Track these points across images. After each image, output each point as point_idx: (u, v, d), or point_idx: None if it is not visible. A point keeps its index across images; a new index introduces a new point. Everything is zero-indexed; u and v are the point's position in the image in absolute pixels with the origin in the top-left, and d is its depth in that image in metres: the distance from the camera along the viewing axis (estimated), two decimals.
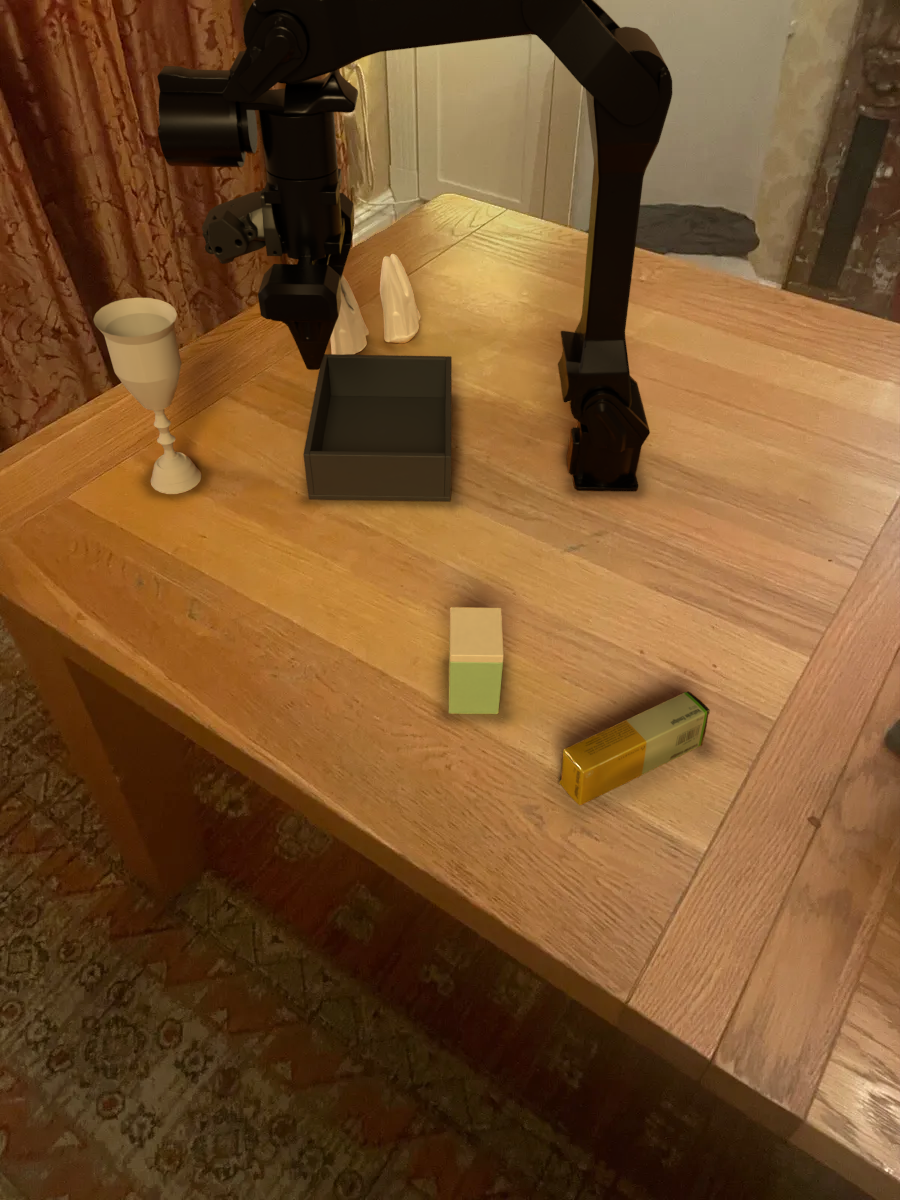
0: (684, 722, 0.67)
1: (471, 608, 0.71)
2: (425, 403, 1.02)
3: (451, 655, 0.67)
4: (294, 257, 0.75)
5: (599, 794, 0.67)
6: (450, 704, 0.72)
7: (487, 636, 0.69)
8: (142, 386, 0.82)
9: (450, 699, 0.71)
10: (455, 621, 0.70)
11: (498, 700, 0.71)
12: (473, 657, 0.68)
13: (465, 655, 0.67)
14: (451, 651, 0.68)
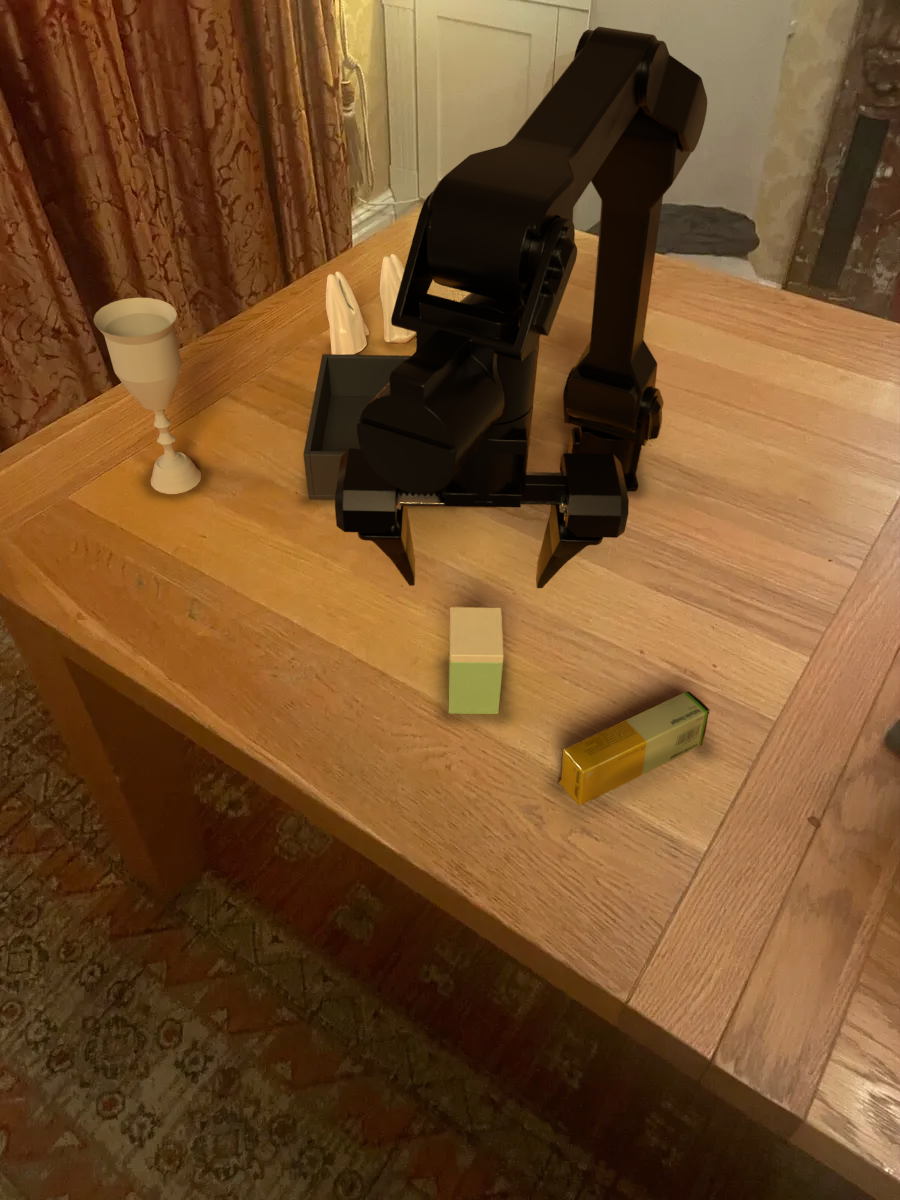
0: (684, 722, 0.67)
1: (471, 608, 0.71)
2: None
3: (451, 655, 0.67)
4: None
5: (599, 794, 0.67)
6: (450, 704, 0.72)
7: (487, 636, 0.69)
8: (142, 386, 0.82)
9: (450, 699, 0.71)
10: (455, 621, 0.70)
11: (498, 700, 0.71)
12: (473, 657, 0.68)
13: (465, 655, 0.67)
14: (451, 651, 0.68)
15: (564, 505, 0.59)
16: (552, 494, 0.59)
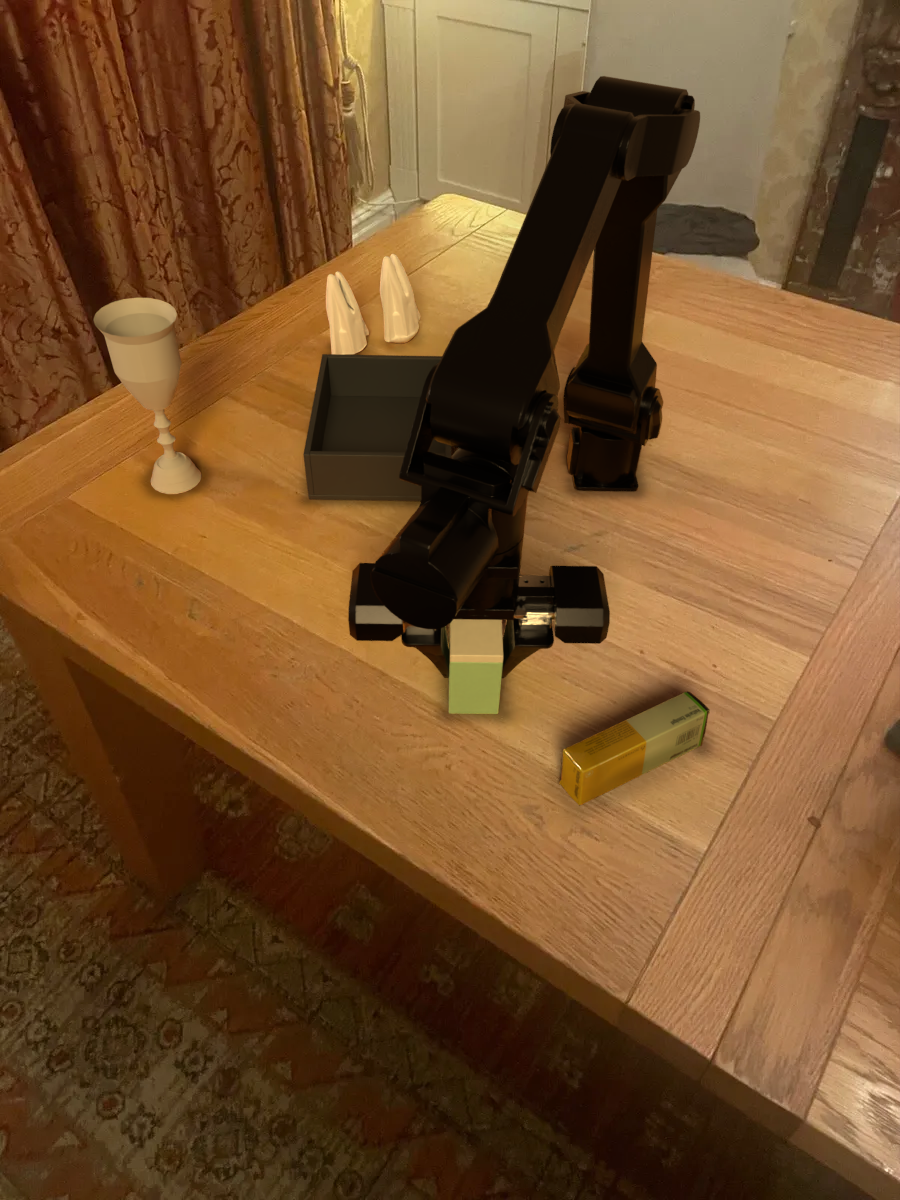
0: (684, 721, 0.67)
1: None
2: None
3: (451, 655, 0.67)
4: None
5: (599, 794, 0.67)
6: (450, 704, 0.72)
7: (487, 636, 0.69)
8: (142, 386, 0.82)
9: (450, 699, 0.71)
10: (455, 621, 0.70)
11: (498, 700, 0.71)
12: (473, 657, 0.68)
13: (465, 655, 0.67)
14: (451, 651, 0.68)
15: None
16: (541, 604, 0.66)
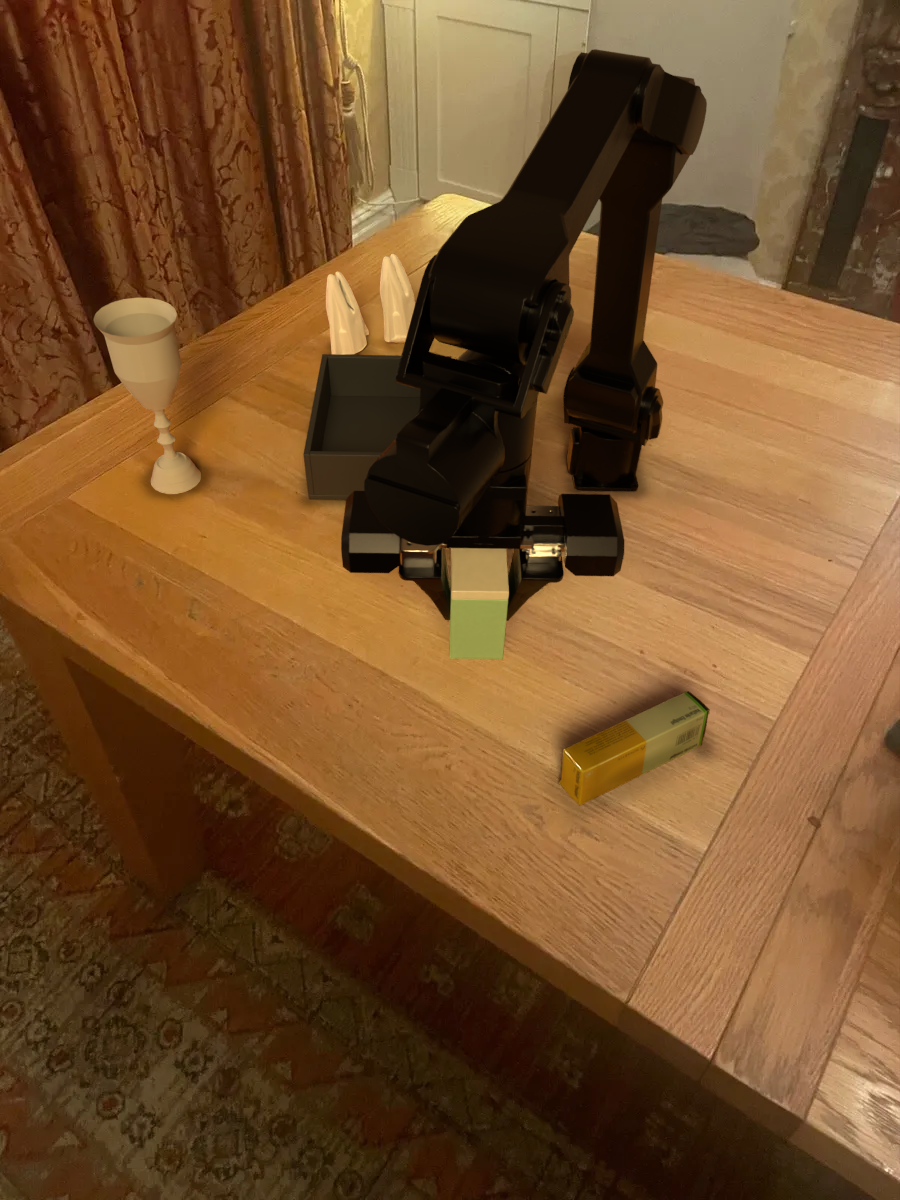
0: (684, 721, 0.67)
1: None
2: None
3: (452, 591, 0.62)
4: None
5: (599, 794, 0.67)
6: (451, 648, 0.67)
7: (491, 572, 0.64)
8: (142, 386, 0.82)
9: (451, 642, 0.66)
10: (456, 557, 0.65)
11: (503, 643, 0.66)
12: (476, 593, 0.63)
13: (468, 591, 0.62)
14: (452, 587, 0.63)
15: None
16: (550, 534, 0.61)
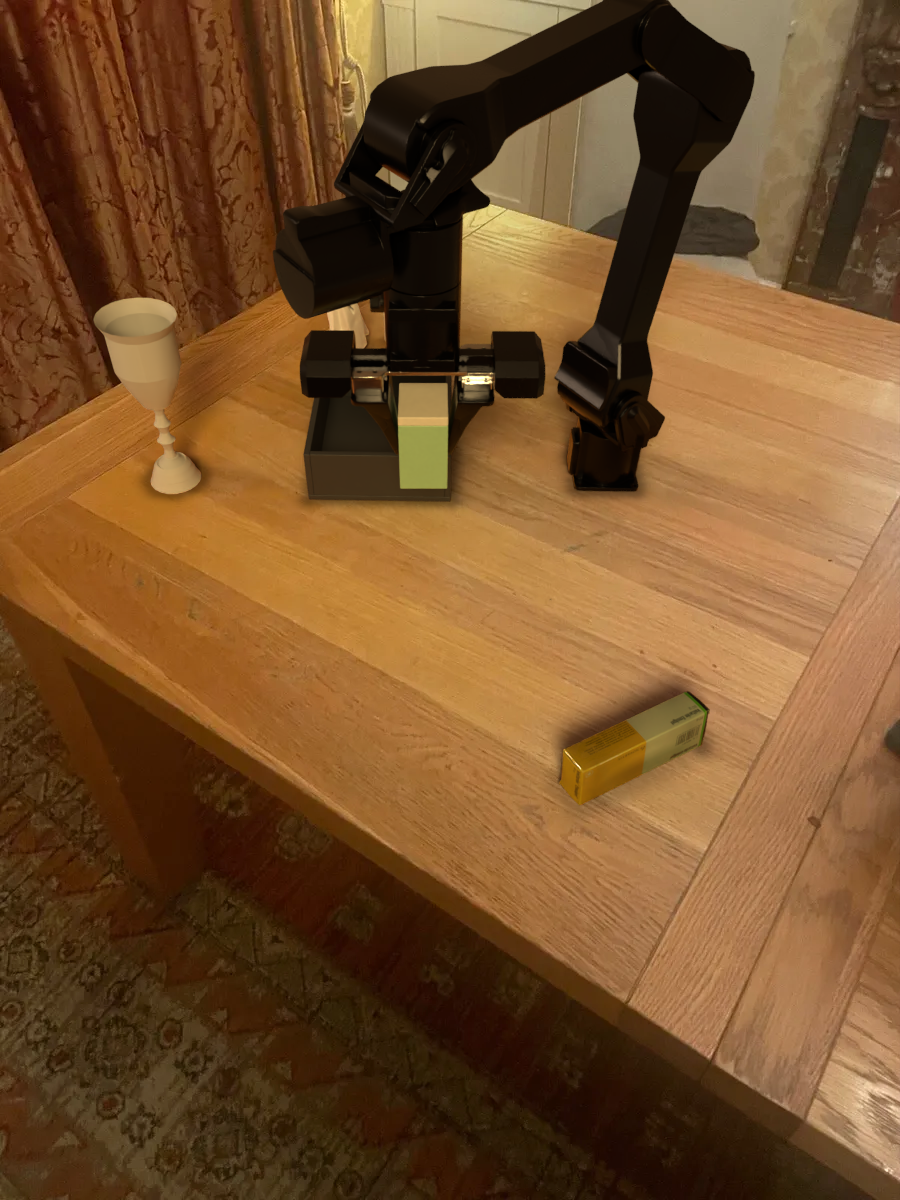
0: (684, 721, 0.67)
1: (419, 383, 0.75)
2: None
3: (399, 417, 0.72)
4: None
5: (599, 794, 0.67)
6: (401, 477, 0.76)
7: (433, 403, 0.73)
8: (142, 386, 0.82)
9: (401, 471, 0.75)
10: (403, 393, 0.74)
11: (446, 471, 0.75)
12: (419, 420, 0.72)
13: (412, 417, 0.72)
14: (399, 414, 0.72)
15: None
16: (482, 364, 0.70)
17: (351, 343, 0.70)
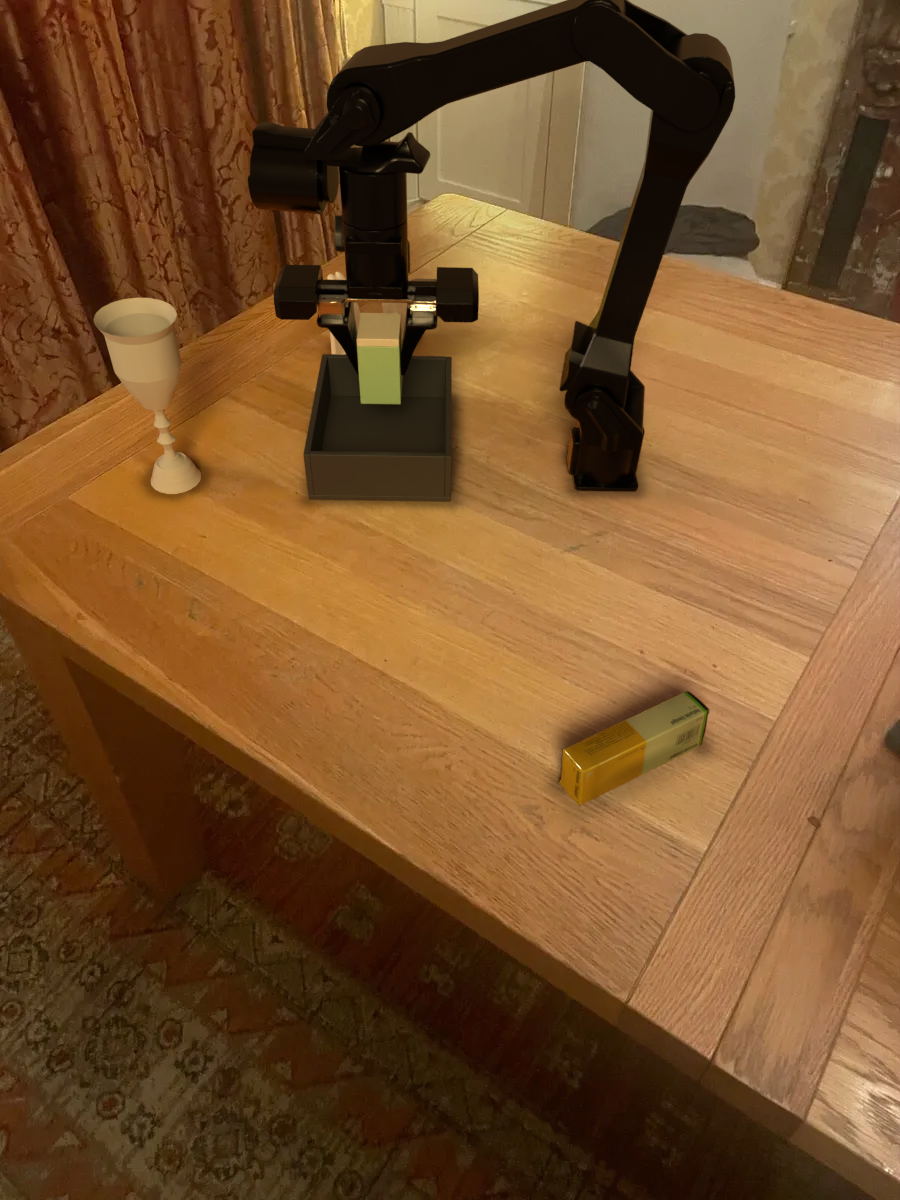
0: (684, 721, 0.67)
1: (377, 313, 0.89)
2: (425, 403, 1.02)
3: (357, 339, 0.85)
4: None
5: (599, 794, 0.67)
6: (361, 393, 0.89)
7: (387, 328, 0.86)
8: (142, 386, 0.82)
9: (360, 387, 0.89)
10: (363, 320, 0.88)
11: (399, 388, 0.89)
12: (375, 341, 0.85)
13: (368, 338, 0.85)
14: (357, 336, 0.85)
15: None
16: (427, 294, 0.84)
17: (317, 275, 0.84)
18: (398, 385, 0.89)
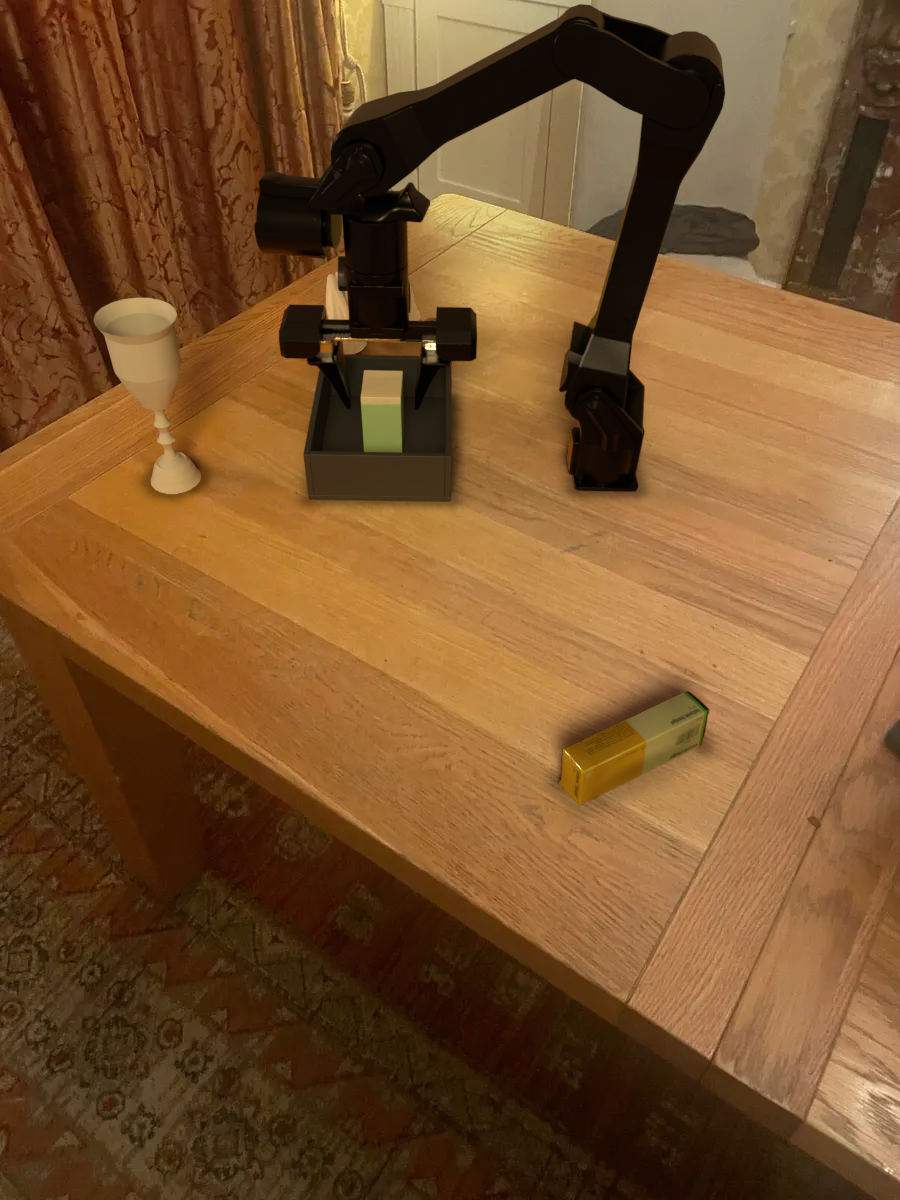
0: (684, 721, 0.67)
1: (380, 371, 0.93)
2: (425, 403, 1.02)
3: (361, 397, 0.90)
4: None
5: (599, 794, 0.67)
6: (364, 446, 0.94)
7: (390, 386, 0.91)
8: (142, 386, 0.82)
9: (364, 441, 0.94)
10: (366, 378, 0.92)
11: (401, 442, 0.94)
12: (378, 399, 0.90)
13: (372, 397, 0.90)
14: (361, 395, 0.90)
15: (424, 341, 0.87)
16: (427, 333, 0.87)
17: (321, 315, 0.86)
18: (400, 439, 0.93)
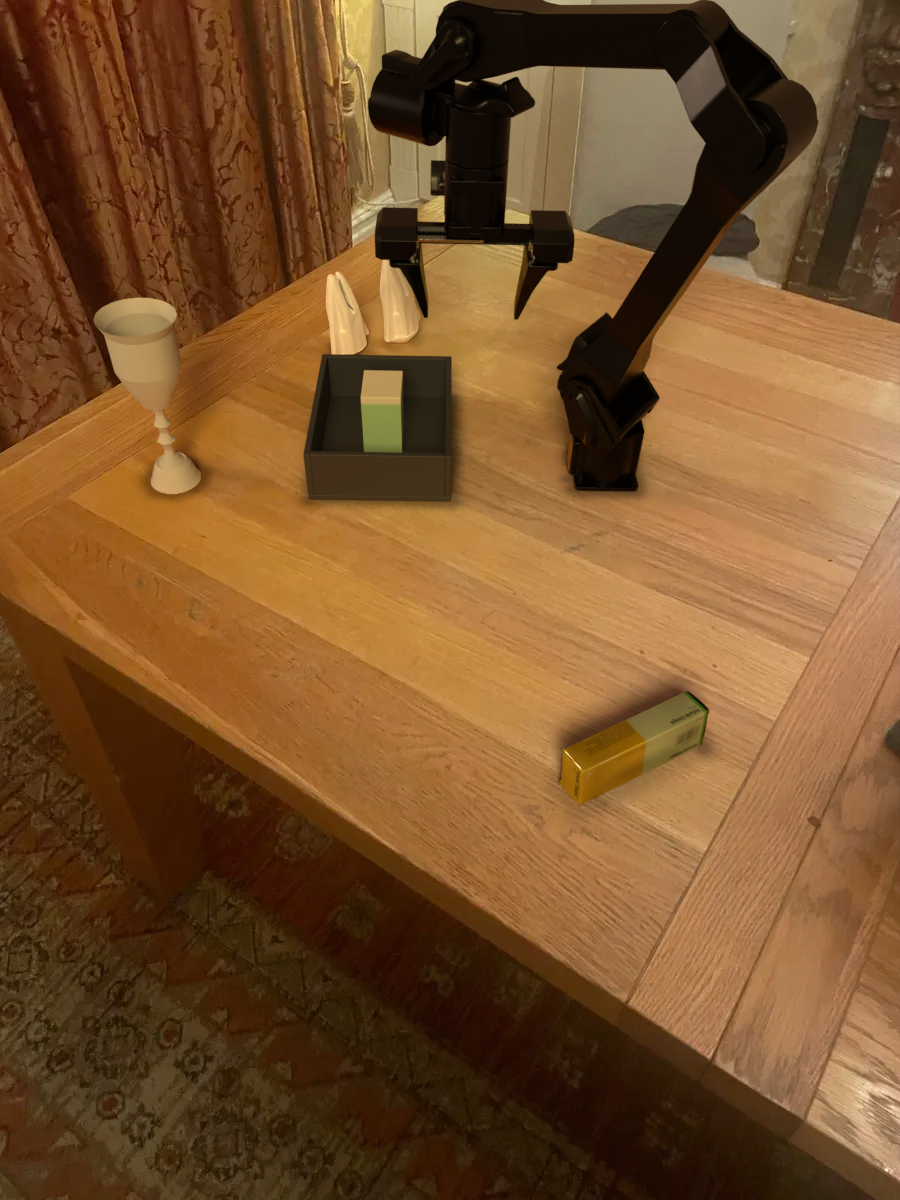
0: (684, 721, 0.67)
1: (380, 371, 0.93)
2: (425, 403, 1.02)
3: (361, 397, 0.90)
4: None
5: (599, 794, 0.67)
6: (364, 446, 0.94)
7: (390, 386, 0.91)
8: (142, 386, 0.82)
9: (364, 441, 0.94)
10: (366, 378, 0.92)
11: (401, 442, 0.94)
12: (378, 399, 0.90)
13: (372, 397, 0.90)
14: (361, 395, 0.90)
15: (531, 244, 0.86)
16: (522, 236, 0.86)
17: (416, 216, 0.86)
18: (400, 439, 0.93)
